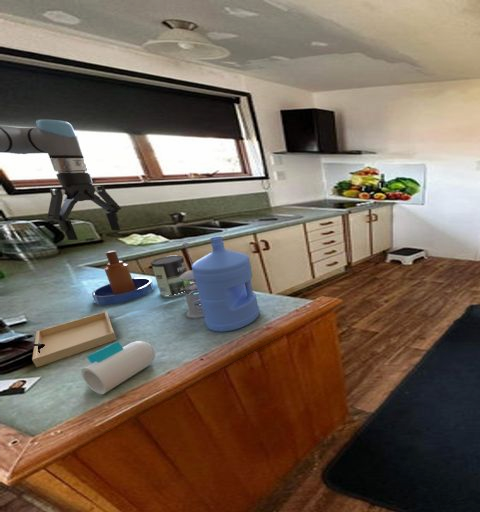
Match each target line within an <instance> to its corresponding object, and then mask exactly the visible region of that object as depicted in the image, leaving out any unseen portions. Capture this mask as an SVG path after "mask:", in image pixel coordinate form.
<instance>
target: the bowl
mask: <svg viewBox="0 0 480 512" xmlns="http://www.w3.org/2000/svg"><path fill="white" fill-rule="evenodd" d="M132 280H133V283H134V286H135V289H136V290H133V291H130V292H126V293H122V294H117V295H114V293H113V291H112V288H111V285H110V283H108V284H105V285H102V286H100V287H98V288H96V289H95V290H93V291H92V293H91V296H92V298H93V301H94V303H95V305H98V306H113V305H120V304H125V303H128V302H132V301H136V300H138V299H140V298H143V297H146V296H147V295H149V294H151V293H152V292H153V291H154V289H155V287H154V284H153V281H152V279H151V278H148V277H134V278H133V277H132Z"/></svg>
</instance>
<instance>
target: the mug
mask: <svg viewBox="0 0 480 512" xmlns="http://www.w3.org/2000/svg"><path fill="white" fill-rule="evenodd" d="M155 357H156V350H155V348H154V346H153V345H152V344H150V343H149V342H147V341H144V340H136V341H132V342H130V343H128V344H126V345H125V346H122V345H121V343H120V342H119V341H116V342H113V343H110V344H109V345H107V346H105V347H103V348H101V349H99V350H97V351H94V352H93V353H91V354H88V355H86V358H87V359H88V361H89V362H90V364H88V365H87V366H85V367H83V368H82V369H81V372H80V373H81V377H82V379H83V381H84V382H85V384H86V385H87V386H88V387H89V388H90V389H91V391H92V392H94V393H96V394H98V395H105V394H106V393H108V392H109V391H111V390H113V389H114V388H115V387H117V386H119V385H121V384H122V383H124V382H125V381H127V380H128V379H130V378H131V377H133V376H135V375H136V374H138V373H139V372H141V371H142V370H144V369H146V368H147V367H150V365H152V363H153V362H154V360H155Z"/></svg>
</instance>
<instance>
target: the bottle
mask: <svg viewBox="0 0 480 512" xmlns="http://www.w3.org/2000/svg"><path fill="white" fill-rule="evenodd" d="M105 256H106V258H107V261H108V263H106V267H104V272H105V275H106V277H107V281H108V282H109V283H108V284H110V285H111V288H112V291H113V293H114V295H117V294H122V293H126V292H130V291H133V290H136V289H135V286H134V283H133V280H132V279H133V277H132V274H131V272H130V269H129V266H128V263H124V262H123V260H120V258H119V257H118V253H117V251H116V250H107V251H105Z"/></svg>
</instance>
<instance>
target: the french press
mask: <svg viewBox="0 0 480 512" xmlns="http://www.w3.org/2000/svg"><path fill="white" fill-rule="evenodd" d="M190 246H191V244H190V243H189V242H184V243H182V248H186V252H187V254H188V259H189V263H190V265H191V267H192V265H193V263H192V260H191V256H190V253H189V249H188V247H190ZM180 279H181V280H184V281H195V279H194V276H193V270H192V269H191V270H187V272H185V273H184V274H182V275H181V276H180ZM184 289H185V290H186V291H185V292H184V297H185V301H186V305H187V307H188V311H187V313H186V316H187V317H188V318H191V319H197V318H203V317H205V316H204V312H203V308H202V305H199V304H201V303H200V299H199V293H198V289H197V285H196V282H191V283H190V284H189V285H187V286H186V287H185V288H184Z"/></svg>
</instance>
